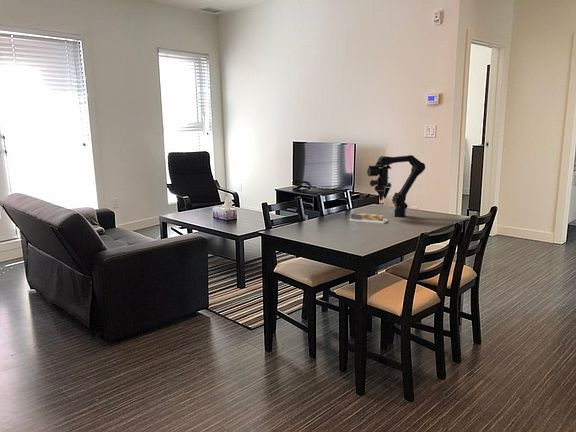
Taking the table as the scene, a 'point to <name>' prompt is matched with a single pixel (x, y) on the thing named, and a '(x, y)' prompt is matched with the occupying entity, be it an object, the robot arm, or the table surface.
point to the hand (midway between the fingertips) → (382, 199)
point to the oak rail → (370, 217)
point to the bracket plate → (358, 219)
